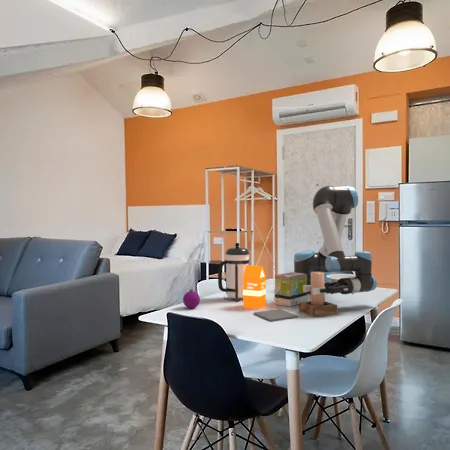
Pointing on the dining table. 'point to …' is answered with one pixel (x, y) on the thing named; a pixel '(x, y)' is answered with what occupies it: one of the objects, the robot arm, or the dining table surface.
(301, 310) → the pocket
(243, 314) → the dining table surface
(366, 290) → the robot arm
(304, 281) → the tea box
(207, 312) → the dining table surface
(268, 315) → the mat
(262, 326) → the dining table surface
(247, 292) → the orange juice
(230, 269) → the coffee press
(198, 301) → the christmas ornament
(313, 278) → the tall peach cylinder
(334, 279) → the soup bowl
